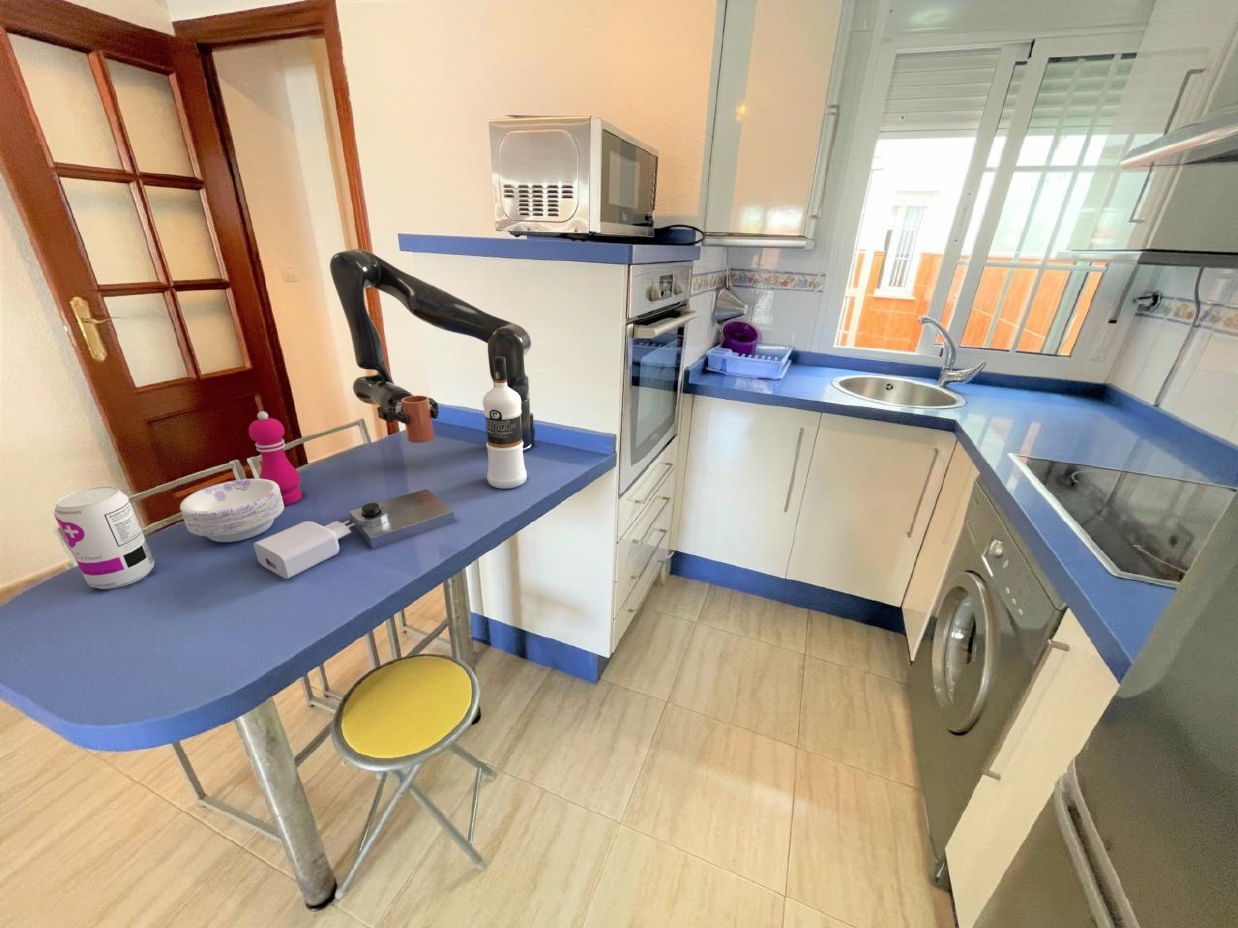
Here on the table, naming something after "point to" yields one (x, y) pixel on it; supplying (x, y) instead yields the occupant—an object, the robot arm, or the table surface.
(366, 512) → the button
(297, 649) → the table surface
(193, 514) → the paper bowls
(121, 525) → the supplement can
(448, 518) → the scale
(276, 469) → the pepper mill
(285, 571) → the charger
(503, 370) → the vodka
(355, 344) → the robot arm
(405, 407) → the cup
